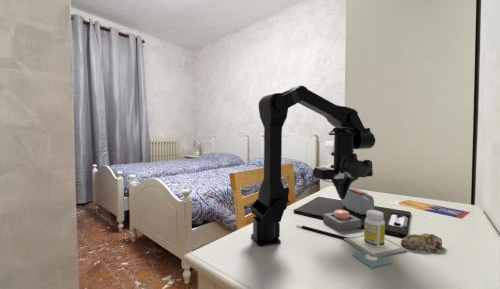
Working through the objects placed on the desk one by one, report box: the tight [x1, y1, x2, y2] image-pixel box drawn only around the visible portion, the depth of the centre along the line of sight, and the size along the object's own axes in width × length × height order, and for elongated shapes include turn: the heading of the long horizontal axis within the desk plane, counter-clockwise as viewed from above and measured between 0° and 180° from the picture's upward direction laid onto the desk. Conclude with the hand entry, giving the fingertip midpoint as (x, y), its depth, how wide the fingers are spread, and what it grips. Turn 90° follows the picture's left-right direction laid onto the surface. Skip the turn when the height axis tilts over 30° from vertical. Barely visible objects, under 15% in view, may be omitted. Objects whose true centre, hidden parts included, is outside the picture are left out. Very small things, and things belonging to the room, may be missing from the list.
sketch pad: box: [343, 234, 408, 257], centre depth 64 cm, size 11×10×1 cm
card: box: [351, 251, 393, 269], centre depth 57 cm, size 6×6×1 cm
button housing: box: [322, 212, 362, 232], centre depth 77 cm, size 8×8×2 cm
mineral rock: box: [400, 233, 443, 253], centre depth 64 cm, size 11×4×8 cm
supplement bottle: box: [363, 210, 386, 247], centre depth 64 cm, size 5×5×8 cm
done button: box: [333, 209, 350, 221], centre depth 77 cm, size 4×4×2 cm
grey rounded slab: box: [340, 187, 375, 215], centre depth 89 cm, size 14×3×8 cm, turn 20°
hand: (342, 198), depth 77 cm, fingers closed
